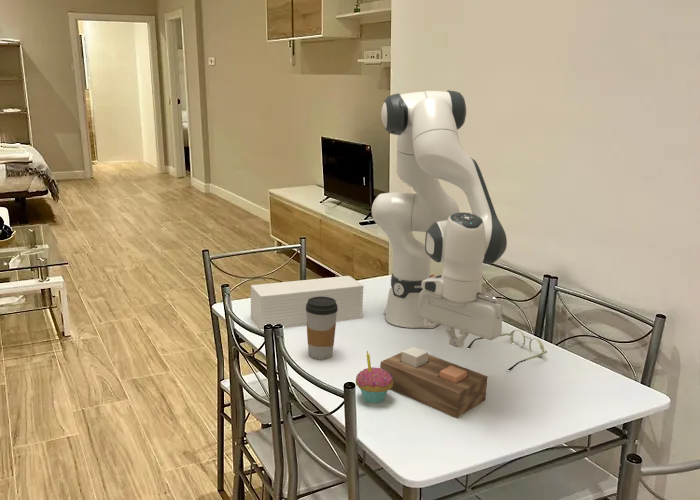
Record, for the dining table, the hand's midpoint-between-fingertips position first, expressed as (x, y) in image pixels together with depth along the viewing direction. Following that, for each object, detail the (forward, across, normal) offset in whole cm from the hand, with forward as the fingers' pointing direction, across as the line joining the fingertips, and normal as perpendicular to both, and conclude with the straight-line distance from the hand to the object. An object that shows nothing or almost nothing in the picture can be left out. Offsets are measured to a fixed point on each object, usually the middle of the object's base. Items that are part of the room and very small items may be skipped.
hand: (456, 345), depth 146 cm
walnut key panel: (+13, +5, +1) cm, 14 cm away
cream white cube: (+9, +11, +1) cm, 14 cm away
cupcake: (+14, +13, +13) cm, 23 cm away
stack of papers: (+15, +60, -12) cm, 63 cm away
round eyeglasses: (+15, +4, -32) cm, 36 cm away
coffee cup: (+14, +38, +4) cm, 41 cm away
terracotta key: (+10, 0, +1) cm, 10 cm away
